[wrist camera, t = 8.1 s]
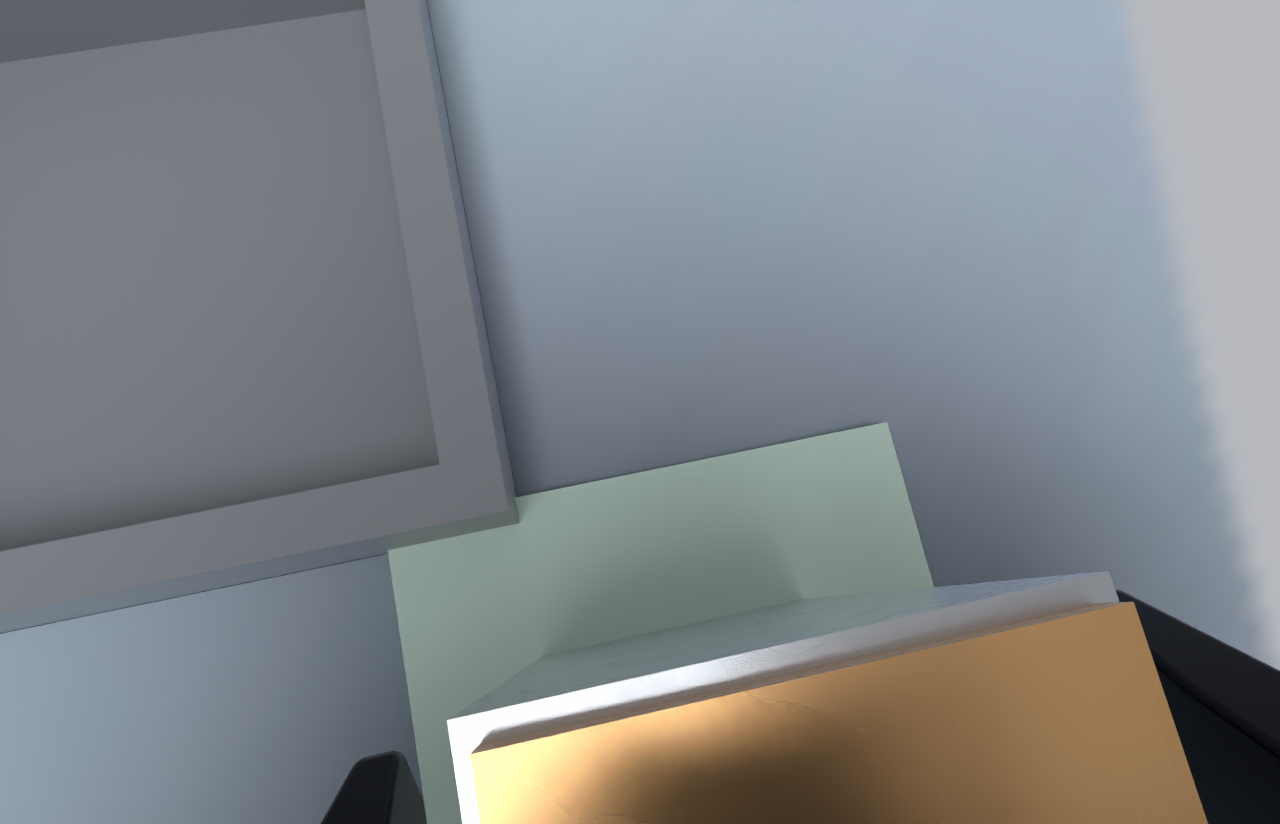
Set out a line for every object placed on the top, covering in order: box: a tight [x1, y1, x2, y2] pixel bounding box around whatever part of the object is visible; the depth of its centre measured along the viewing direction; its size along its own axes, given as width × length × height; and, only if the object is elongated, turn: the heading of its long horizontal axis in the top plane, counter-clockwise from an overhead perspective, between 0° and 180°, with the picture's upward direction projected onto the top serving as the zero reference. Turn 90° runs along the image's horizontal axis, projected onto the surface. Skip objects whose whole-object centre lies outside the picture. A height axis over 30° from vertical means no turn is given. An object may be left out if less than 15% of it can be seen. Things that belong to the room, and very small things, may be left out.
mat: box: [388, 422, 934, 824], centre depth 16 cm, size 10×10×1 cm
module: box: [447, 571, 1208, 824], centre depth 10 cm, size 4×5×10 cm
